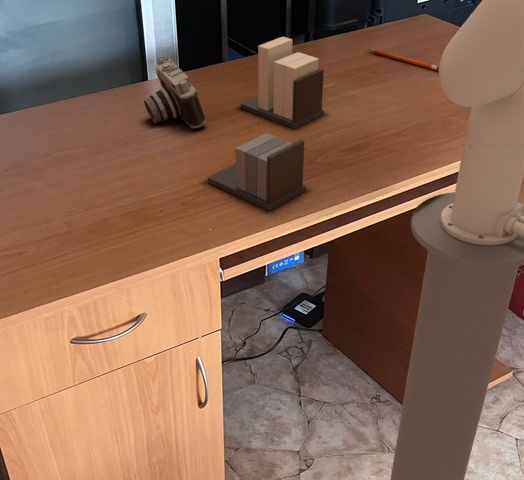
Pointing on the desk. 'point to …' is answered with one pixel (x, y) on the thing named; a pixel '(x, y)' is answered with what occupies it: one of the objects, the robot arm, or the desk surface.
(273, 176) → the grey rack
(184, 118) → the camera
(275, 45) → the white book
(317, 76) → the dark bookend stand
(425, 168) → the desk surface
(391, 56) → the pencil
